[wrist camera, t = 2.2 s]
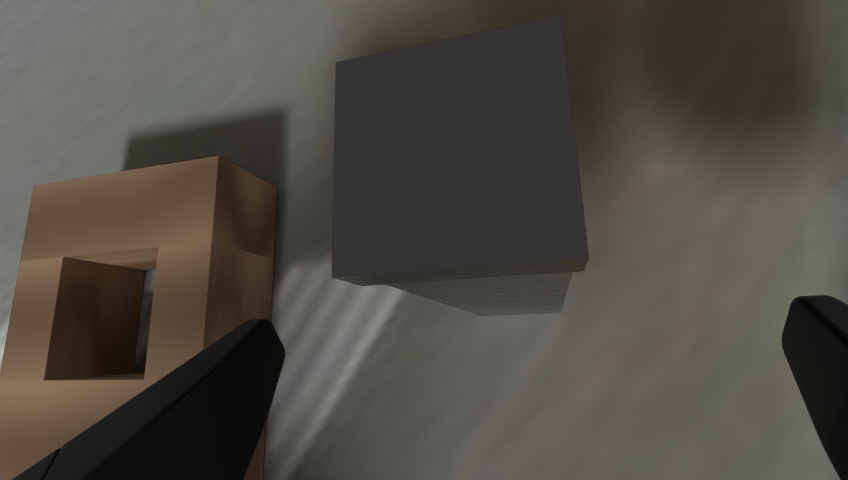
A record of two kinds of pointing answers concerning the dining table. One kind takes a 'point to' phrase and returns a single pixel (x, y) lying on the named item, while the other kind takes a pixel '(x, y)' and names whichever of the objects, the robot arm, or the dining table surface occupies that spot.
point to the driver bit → (461, 171)
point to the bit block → (127, 293)
